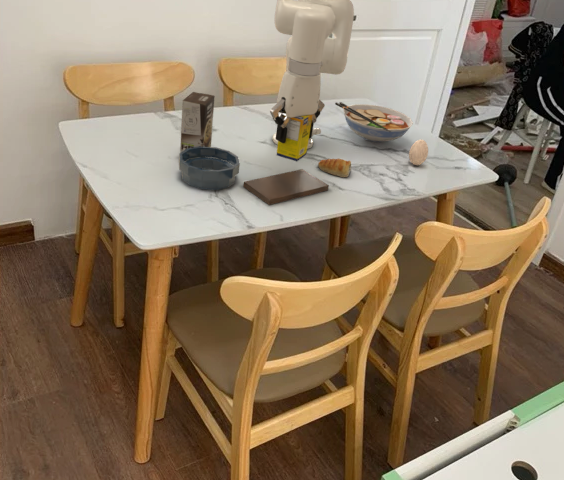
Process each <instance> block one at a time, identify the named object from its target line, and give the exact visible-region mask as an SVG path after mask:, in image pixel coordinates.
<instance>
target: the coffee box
mask: <svg viewBox="0 0 564 480" xmlns="http://www.w3.org/2000/svg"><path fill="white" fill-rule="evenodd" d="M215 97H216V96H215V95H213V94H208V93H203V92H202V93H201V92H196V91H192V92H191V93H190V94H189V95H187V97H185V98H183V99H182V105H181V107H182V109H181V124H180V125H181V127H180V147H179V153H181V152H182V151H184V150H185V149H187V148H192V147H198V146H204V147H212V140H213V139H212V138H213V125H214V124H213V123H214V110H215ZM197 158H198V157H197ZM191 159H192V158H191Z"/></svg>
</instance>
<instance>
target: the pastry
mask: <svg viewBox="0 0 564 480" xmlns="http://www.w3.org/2000/svg"><path fill="white" fill-rule="evenodd" d="M317 166H318V168H319V170H321V171H322V172H324V173H327V174H330V175H333V176H335V177H337V176H338V177H340V178H348V177H349V176H350V172H351V171H352V161H351V160H345V159H343V158H327V159H321V160H320V161H318V163H317Z"/></svg>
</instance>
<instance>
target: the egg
mask: <svg viewBox="0 0 564 480" xmlns="http://www.w3.org/2000/svg"><path fill="white" fill-rule="evenodd" d="M428 154H429V145H428V143H427V142H426V140H424V139H418V140H416V141H415V142H413V144H412V145H411V147H410V149H409V152H408V158H409V161H410V163H411V164H412V165H414V166H420V165H422V164H423V163H424V162H425V161H426V160H427V158H428V156H429V155H428Z"/></svg>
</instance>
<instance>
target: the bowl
mask: <svg viewBox="0 0 564 480" xmlns="http://www.w3.org/2000/svg"><path fill="white" fill-rule="evenodd" d="M197 157H198V158H197ZM191 158H192V159H191ZM240 166H241V163H240V158H239V156H237V155H236V154H235V153H233V152H232V151H230V150H227V149H224V148H221V147H217V146H211V147H204V146H198V147H192V148H187V149H185V150H184V151H182V152H181V153H180V152H179V153H178V169H179V171H180V172H181V181H183V182H184V183H186V184H187V185H189V186H190V187H192V188H193V187H194V188H196V189H200V190H208V191H218V190H223V189H227V188H230V187H231V186H232V185H234V184H235V182H236V176H237V175H239V173H240Z"/></svg>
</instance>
